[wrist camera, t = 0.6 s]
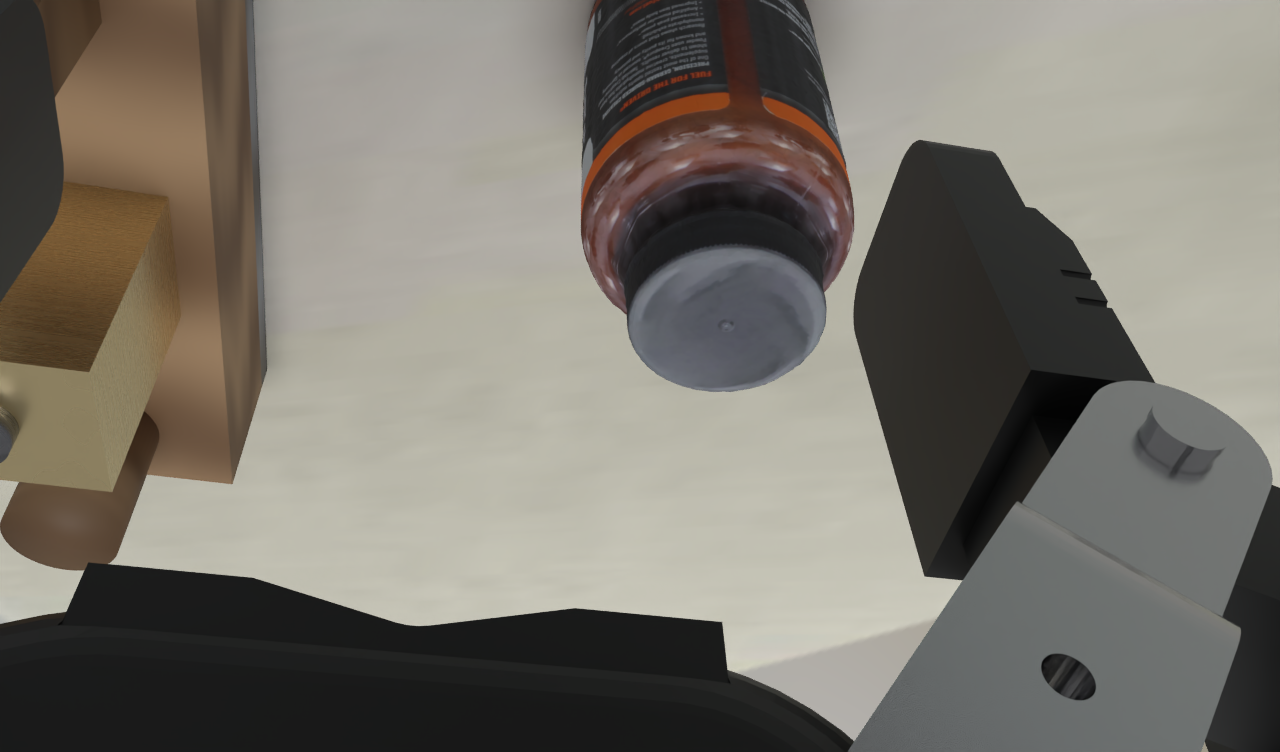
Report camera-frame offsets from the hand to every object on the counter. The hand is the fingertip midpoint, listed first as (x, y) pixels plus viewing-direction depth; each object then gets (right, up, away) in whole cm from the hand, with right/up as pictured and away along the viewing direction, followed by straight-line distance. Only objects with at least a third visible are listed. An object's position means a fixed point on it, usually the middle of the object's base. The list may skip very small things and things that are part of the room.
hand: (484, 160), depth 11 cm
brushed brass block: (-13, +1, +18) cm, 22 cm away
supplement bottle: (+3, +7, +20) cm, 21 cm away
